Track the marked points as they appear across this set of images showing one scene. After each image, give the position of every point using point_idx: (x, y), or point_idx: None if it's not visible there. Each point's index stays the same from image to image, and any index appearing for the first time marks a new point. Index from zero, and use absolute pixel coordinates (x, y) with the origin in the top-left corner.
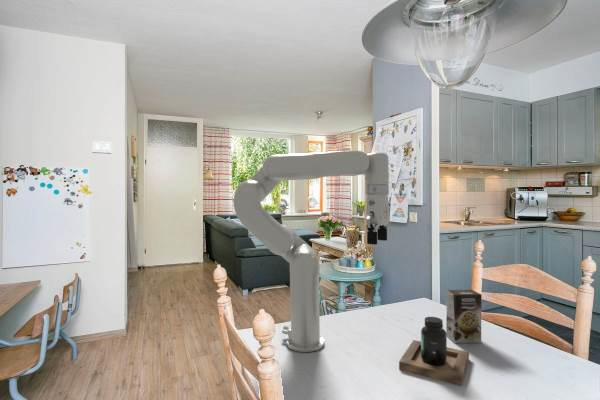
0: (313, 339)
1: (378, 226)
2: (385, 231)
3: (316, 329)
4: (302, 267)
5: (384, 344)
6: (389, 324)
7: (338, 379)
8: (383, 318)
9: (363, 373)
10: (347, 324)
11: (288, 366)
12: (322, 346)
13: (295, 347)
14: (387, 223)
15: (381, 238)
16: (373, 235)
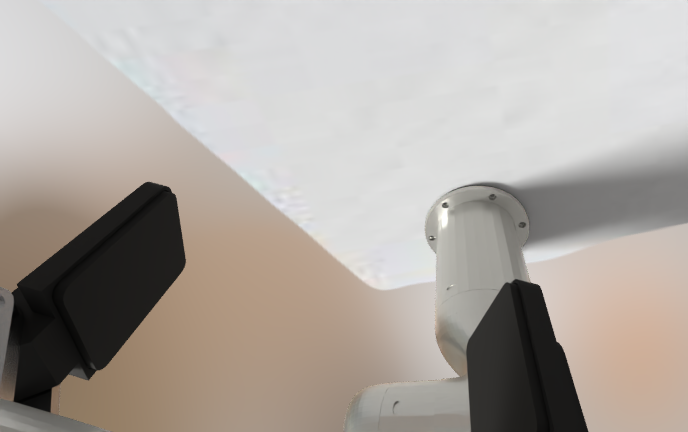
0: (507, 219)
1: (58, 404)
2: (89, 273)
3: (500, 228)
4: None
5: (428, 13)
6: (258, 18)
7: (684, 114)
8: (218, 47)
9: (650, 50)
10: (316, 150)
11: (605, 236)
12: (492, 188)
13: (522, 243)
14: (22, 418)
15: (170, 246)
16: (581, 420)
